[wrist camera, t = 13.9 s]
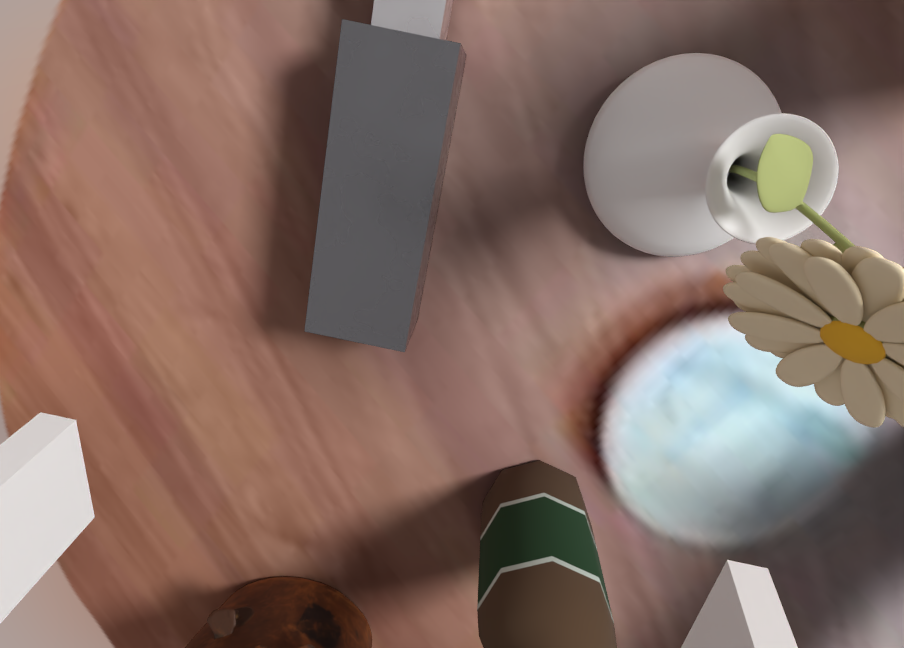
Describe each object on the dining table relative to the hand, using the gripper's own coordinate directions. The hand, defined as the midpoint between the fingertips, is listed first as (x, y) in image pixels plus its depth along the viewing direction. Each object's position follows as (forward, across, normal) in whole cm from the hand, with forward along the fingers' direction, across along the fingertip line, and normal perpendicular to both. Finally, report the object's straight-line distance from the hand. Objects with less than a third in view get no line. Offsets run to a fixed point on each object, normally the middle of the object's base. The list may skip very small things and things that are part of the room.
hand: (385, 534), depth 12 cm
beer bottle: (+26, +7, -23) cm, 35 cm away
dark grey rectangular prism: (+29, -6, -1) cm, 29 cm away
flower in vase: (+30, +11, +2) cm, 32 cm away
